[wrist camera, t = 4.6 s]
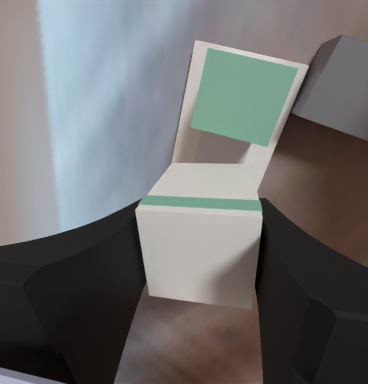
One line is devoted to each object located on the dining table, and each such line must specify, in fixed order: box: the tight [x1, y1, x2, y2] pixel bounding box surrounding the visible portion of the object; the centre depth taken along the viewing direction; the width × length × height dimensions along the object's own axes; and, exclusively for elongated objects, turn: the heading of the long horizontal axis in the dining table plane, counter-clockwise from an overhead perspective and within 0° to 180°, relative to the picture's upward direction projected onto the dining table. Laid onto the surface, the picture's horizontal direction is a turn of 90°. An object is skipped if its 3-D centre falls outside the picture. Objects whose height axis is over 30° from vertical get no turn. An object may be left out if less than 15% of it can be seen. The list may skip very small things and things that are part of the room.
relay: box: [290, 34, 368, 141], centre depth 13 cm, size 6×4×3 cm, turn 72°
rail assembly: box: [171, 40, 309, 190], centre depth 15 cm, size 7×15×5 cm, turn 167°
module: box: [135, 163, 263, 310], centre depth 10 cm, size 4×4×5 cm
